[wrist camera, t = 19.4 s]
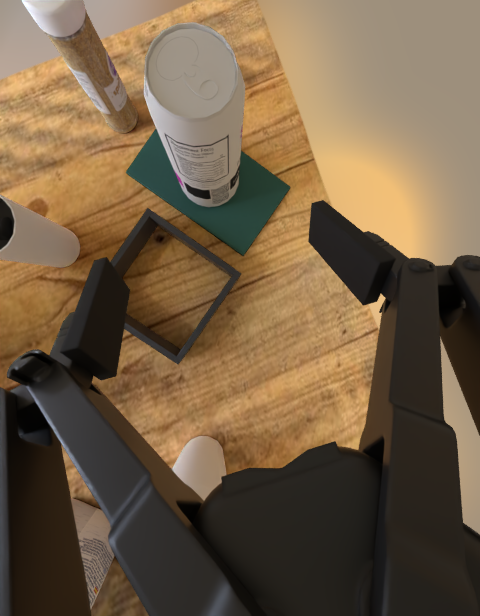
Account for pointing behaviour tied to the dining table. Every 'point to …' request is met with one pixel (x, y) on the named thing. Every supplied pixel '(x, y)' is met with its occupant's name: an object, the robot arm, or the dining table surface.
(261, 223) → the mat
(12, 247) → the white coffee cup
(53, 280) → the dining table surface
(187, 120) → the supplement can
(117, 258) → the square frame
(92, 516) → the juice carton
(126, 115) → the sprinkles bottle
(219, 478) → the foam cup
